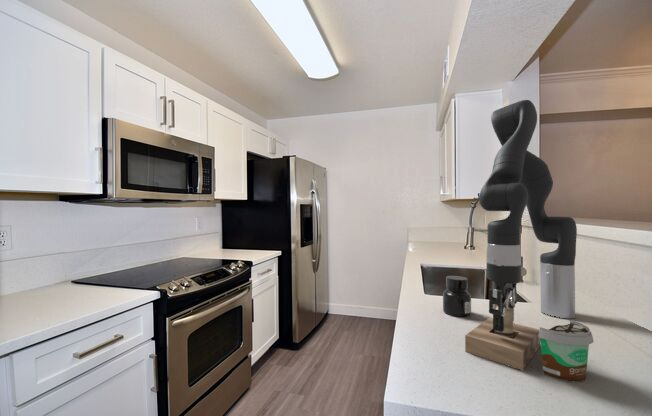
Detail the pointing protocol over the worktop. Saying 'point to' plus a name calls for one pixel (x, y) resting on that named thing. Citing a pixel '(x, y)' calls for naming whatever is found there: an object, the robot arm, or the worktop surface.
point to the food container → (565, 351)
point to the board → (503, 344)
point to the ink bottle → (457, 297)
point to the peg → (507, 324)
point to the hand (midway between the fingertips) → (503, 326)
